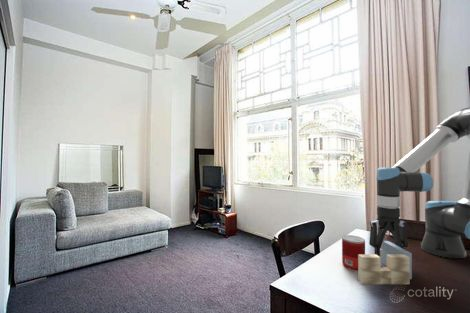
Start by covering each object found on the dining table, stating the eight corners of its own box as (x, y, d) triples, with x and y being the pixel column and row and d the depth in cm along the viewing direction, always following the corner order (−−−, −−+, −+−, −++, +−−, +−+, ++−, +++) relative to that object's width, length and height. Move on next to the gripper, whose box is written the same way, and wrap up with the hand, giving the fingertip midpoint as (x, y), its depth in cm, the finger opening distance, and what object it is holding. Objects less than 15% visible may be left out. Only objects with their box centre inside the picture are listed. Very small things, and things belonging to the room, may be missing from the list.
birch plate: (404, 280, 79) (404, 254, 79) (409, 284, 77) (409, 257, 77) (358, 280, 79) (358, 254, 79) (362, 284, 77) (362, 257, 77)
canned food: (368, 272, 85) (368, 242, 85) (345, 270, 86) (345, 241, 87) (361, 262, 92) (361, 235, 92) (340, 261, 94) (340, 234, 94)
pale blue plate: (382, 263, 92) (382, 241, 92) (388, 263, 92) (388, 241, 92) (405, 279, 80) (404, 253, 80) (411, 279, 80) (411, 253, 80)
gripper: (405, 204, 94) (405, 260, 94) (358, 204, 94) (358, 260, 94) (420, 208, 87) (420, 269, 86) (369, 208, 87) (369, 269, 86)
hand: (388, 264), depth 90 cm, fingers open, 6 cm apart
